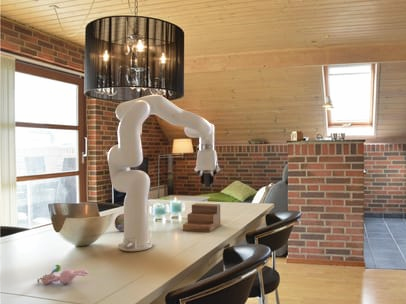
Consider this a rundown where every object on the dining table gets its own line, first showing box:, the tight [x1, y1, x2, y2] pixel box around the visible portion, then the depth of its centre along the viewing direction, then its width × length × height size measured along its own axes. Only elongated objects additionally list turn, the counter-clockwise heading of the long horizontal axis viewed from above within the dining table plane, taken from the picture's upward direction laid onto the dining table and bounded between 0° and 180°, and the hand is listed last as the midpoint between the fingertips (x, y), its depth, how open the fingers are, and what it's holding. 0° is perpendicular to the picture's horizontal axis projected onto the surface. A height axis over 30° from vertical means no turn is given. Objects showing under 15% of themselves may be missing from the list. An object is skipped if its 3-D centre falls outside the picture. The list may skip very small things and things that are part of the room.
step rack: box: [182, 202, 222, 233], centre depth 177 cm, size 16×14×11 cm
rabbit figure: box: [36, 264, 89, 285], centre depth 104 cm, size 6×6×15 cm
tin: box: [114, 213, 124, 232], centre depth 175 cm, size 15×3×8 cm, turn 143°
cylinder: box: [203, 172, 213, 188], centre depth 176 cm, size 4×4×7 cm
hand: (207, 183), depth 176 cm, fingers closed on cylinder, 4 cm apart
